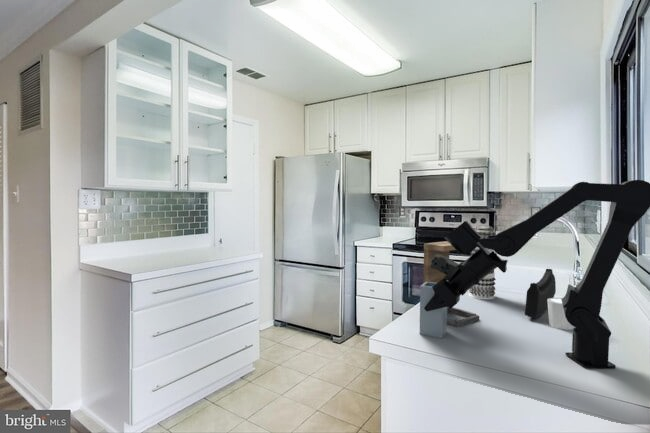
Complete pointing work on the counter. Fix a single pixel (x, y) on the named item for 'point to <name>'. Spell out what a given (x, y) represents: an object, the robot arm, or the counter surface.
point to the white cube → (557, 314)
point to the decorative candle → (486, 284)
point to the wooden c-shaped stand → (436, 276)
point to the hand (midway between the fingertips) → (428, 306)
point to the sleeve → (431, 314)
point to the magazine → (540, 295)
